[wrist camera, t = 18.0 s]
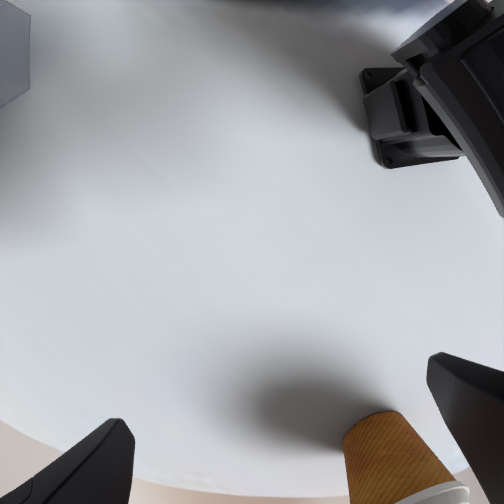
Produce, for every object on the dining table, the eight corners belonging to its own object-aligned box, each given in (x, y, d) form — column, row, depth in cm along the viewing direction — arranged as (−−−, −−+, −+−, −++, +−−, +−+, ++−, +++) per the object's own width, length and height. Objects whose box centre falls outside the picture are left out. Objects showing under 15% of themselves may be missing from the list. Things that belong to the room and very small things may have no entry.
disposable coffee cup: (343, 474, 25) (368, 566, 13) (309, 430, 23) (335, 550, 11) (425, 433, 24) (472, 515, 12) (410, 378, 22) (479, 481, 10)
